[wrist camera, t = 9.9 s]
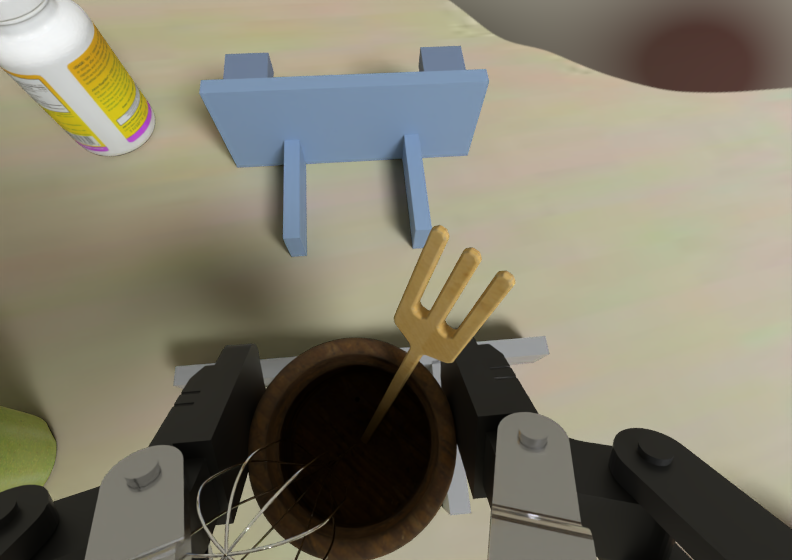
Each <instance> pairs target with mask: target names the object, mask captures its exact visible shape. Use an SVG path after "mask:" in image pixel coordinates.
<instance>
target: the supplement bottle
mask: <svg viewBox="0 0 792 560" xmlns="http://www.w3.org/2000/svg"><path fill="white" fill-rule="evenodd" d="M0 67H1V68H2V69H3V70H4V71H5V72H6V73H7V74H8V75H9V76H10V77H12V78H13V79H14V80H15V81H16V82H17V83H18V84H19V85H20V86H21V87H22V88H23V89H24V90H25V91H26V92H27V93H28V94H29V95H30V96H31V97H32V98H33V99H34V100H35V101H36V102H37V103H38V104H39V105H40V106H41V107H42V108H43V109H44V110H45V111H46V112H47V113H48V114H49V115H50V116H51V117H52V118H53V119H54V120H55V121H56V122H57V123H58V124H59V125H60V126H61V127H62V128H63V129H64V130H65V131H66V132H67V133H68V134H69V135H70V136H71V137H72V138H73V139H74V140H75V141H76V142H77V143H79V144H80V145H81V146H82V147H83V148H85V149H86V150H88V151H89V152H92V153H94V154H97V155H102V156H117V155H122V154H125V153H128V152H131V151H133V150H135V149H137V148H138V147H140V146H141V145H143V144H144V143H145V142H146V141H147V140H148V138H149V137H150V136H151V134H152V132H153V130H154V126H155V115H154V112H153V110H152V108H151V106H150V104H149V103H148V101H147V100H146V99H145V97H144V96H143V94H142V93H141V91H140V90H139V88H138V87H137V85H136V84H135V83H134V81H133V80H132V78H131V77H130V75H129V74H128V72H127V71H126V70H125V68H124V67H123V65H122V64H121V62H120V61H119V59H118V58H117V57H116V55H115V54H114V52H113V51H112V49H111V48H110V46H109V45H108V44H107V42H106V41H105V39H104V38H103V36H102V35H101V33H100V32H99V31H98V29H97V28H96V26H95V25H94V23H93V22H92V20H91V19H90V18H89V16H88V15H87V14H86V12H85V11H84V10H83V9H82V8H81V7H80V6H79V5H78V4H76V3H75V2H74V1H72V0H0Z"/></svg>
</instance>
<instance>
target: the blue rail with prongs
mask: <svg viewBox="0 0 792 560" xmlns="http://www.w3.org/2000/svg"><path fill="white" fill-rule="evenodd" d="M273 75H274V71H273V68H272V64H271V61H270V57H269V54H268V53H247V54H225V65H224V76H223V79H221V80H201V84H200V93H199V94H200V96H201V97H202V99H203V101H204V103H205V105H206V107H207V109H208V111H209V113H210V115H211V117H212V119H213V121H214V123H215V125H216V127H217V129H218V130H219V132H220V134H221V136H222V138H223V140H224V142H225V144H226V146H227V148H228V150H229V152H230V154H231V156H232V158H233V160H234V162H235V163H236V165H237V167H255V166H274V165H284V200H283V240H284V242H285V244H286V246H287V248H288V250H289V253H290V255H291V257H294V256H307V223H306V164H312V163H331V162H351V161H370V160H389V159H402V160H403V169H404V177H405V186H406V194H407V203H408V212H409V220H410V229H411V237H412V246H413V249H414V248H423V247H424V245H425V243H426V240H427V238H428V236H429V233H430V231H431V229H432V226H431V219H430V212H429V205H428V197H427V190H426V183H425V176H424V169H423V161H422V158H427V157H446V156H465V155H468V151H469V148H470V145H471V141H472V138H473V134H474V131H475V128H476V124H477V121H478V118H479V114H480V111H481V107H482V104H483V101H484V97H485V94H486V90H487V87H488V84H489V79H488V75H487V70H486V69H477V70H466V69H465V64H464V59H463V55H462V50H461V46H446V47H420V57H419V72H400V73H374V74H349V75H323V76H297V77H273Z"/></svg>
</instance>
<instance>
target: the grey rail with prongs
mask: <svg viewBox="0 0 792 560" xmlns="http://www.w3.org/2000/svg"><path fill="white" fill-rule="evenodd" d="M477 344H478V345H480V344H490V345H492V346H493V347H494V348H496V349H497V350H498V351H500V352H501V353H503V355H504V357H505V358H506V360H507V362H508V363H509V365H512V364H523V363H534V362H536V361H538V360H539V359H541V358H543V357H545V356H547V355H548V354H549V350H548V346H547V341H546V337H545V336H541V337H529V338H517V339H505V340H492V341H480V342H477ZM400 349H402V350H404V351H406V352H408V350H409V349H410V347H407V348H400ZM295 358H296V357H284V358H272V359H260V363H261V368H262V373H263V378H264V384H265V386H267V385H269V384H270V383H271V382H272V380H273V379H274V378H275V376H276V375H277V374H278V373H279V372H280V371H281V370H282V369H283V368H284V367H285V366H286V365H287V364H288V363H290V362H291V361H292V360H293V359H295ZM419 361H420V362H421V363H422V364H423V365H424V366H425V367H426V368H427V369H428V370H429V371H430V373H431V374H432V375H433V376H434V378H435V379H436V380H437V382H438V383H439V385H440V386H441V378H440V370H441V361H439V360H437V359H434V358H432V357H429V356H427V355H423V356H422V357H421V359H420V360H419ZM207 365H215V363H211V364H199V365H187V366H175V376H174V385H173V386H176V387H179V388H183V389H184V387H185V386H186V384H187V382H188V381H189V379H190V378H191V377H192V376H193V375H194V374H196V373H197V372H198V371H199V370H201V369H202V368H203V367H204V366H207ZM443 508H444V509H445V510H446V511H447V512H448V513H449V514H450V515H457V514H466V513H471V509H470V501H469V494H468V487H467V480H466V473H465V469H464V466H463V463H462V459H461V456H460V453H459V449H458V446H457V456H456V465H455V470H454V475H453V478H452V482H451V485H450V488H449V490H448V493H447V495H446V497H445V499H444V501H443Z"/></svg>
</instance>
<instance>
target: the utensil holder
mask: <svg viewBox="0 0 792 560" xmlns="http://www.w3.org/2000/svg"><path fill="white" fill-rule="evenodd" d="M448 239H449V233H448V230H447V229H446V228H444V227H443V226H441V225H438V226H434V227H433V228H432V229H431V231H430V233H429V236H428V238H427V240H426V243H425V245H424V247H423V250H422V252H421V254H420V257H419V259H418V262H417V264H416V266H415V269H414V271H413V273H412V276H411V278H410V280H409V283H408V285H407V287H406V290H405V292H404V294H403V297H402V299H401V301H400V304H399V306H398V308H397V311H396V313H395V316H394V321H395V324H396V325H397V327H398V328H399V329H400V331H401V332H402V334H403V335H404V336H405V338H406V339H407V340H408V342H409V343H410V349H409V350H408V352H406V351H404V350H402V349H400V348H398V347H396V346H394V345H391V344H389V343H386V342H383V341H379V340H375V339H368V338H344V339H338V340H333V341H329V342H326V343H323V344H320V345H318V346H315V347H313V348H311V349H309V350H307V351H305V352H304V353H302V354H300V355H299V356H297V357H296V358H295V359H293V360H292V361H291V362H290V363H288V364H287V365H286V366H285V367H284V368H283V369H282V370H281V371H280V372H279V373H278V374H277V375H276V376H275V378H274V379H273V380H272V382H271V383H270V384H269V386H268V387H267V389H266V390H265V392H264V394H263V395H262V397H261V399H260V401H259V403H258V405H257V408H256V410H255V413H254V416H253V419H252V422H251V426H250V431H249V440H248V458H247V459H246V461H245V462H241V463H238V464H235V465H233V466H231V467H229V468H227V469H225V470H223V471H221V472H219V473H217V474H215V475H213V476H211V477H210V478H208V479H207V480H205V481H204V482H203V483H202V485H201V486H200V488H199V491H198V494H197V501H196V504H197V512H198V516H199V519H200V522H201V524H202V525H201V526H200V527H198V528H197V529H195V530H194V531H192V532H191V536H192V535H193V534H194V533H196V532H197V531H199V530H200V529H202V528H204V530H205V532H206V533H207V535H208V536H209V538H210V539H211V541H212V542H213V543H214V545H215V546H216V547H217V548H218V549H219V550H220V551H221V553H217V554H194V553H189V552H187V556H188V557H194V558H216V557H222V558H221V559H220V560H234V559H233V558H232V557H231V556H235V555H242V554H246V555H245V556H243V557H242V558H241V559H240V560H244V559H245V558H246V557H247V556H248V555H249V554H250V553H253V552H257V551H262V550H266V549H270V548H273V547H277V546H280V545H283V544H286V543H290V544H292V545H293V546H295V547H296V548H298V549H299V550H298V553H297V555H296V557H295V560H297V558H298V556H299V554H300V551H303V552H305V553H307V554H309V555H312V556H315V557H317V558H321V559H323V560H371V559H375V558H378V557H381V556H384V555H387V554H389V553H391V552H393V551H395V550H397V549H399V548H401V547H402V546H404V545H405V544H407V543H408V542H410V541H411V540H412V539H413V538H415V537H416V536H417V535H418V534H419V533H420V532H421V531H422V530H423V529H424V528H425V527H426V526H427V525H428V524H429V523H430V521H431V520H432V519H433V517H434V516H435V515H436V513H437V512H438V510H439V509H440V507H441V505H442V503H443V501H444V499H445V497H446V495H447V493H448V490H449V488H450V485H451V482H452V478H453V475H454V470H455V465H456V456H457V437H456V428H455V423H454V418H453V414H452V411H451V408H450V405H449V402H448V400H447V398H446V396H445V394H444V392H443V390H442V388H441V386H440V385H439V383H438V382H437V380H436V379H435V378H434V376H433V375H432V374H431V373H430V371H429V370H428V369H427V368H426V367H425V366H424V365H423V364H422V363H421V362H420V361H419V360H420V359H421V357H422V356H423V355H427V356H429V357H432V358H434V359H437V360H439V361H442V362H445V363H452V362H453V361H454V360H455V359H456V358H457V356H458V355H459V354H460V353H461V351H462V350H463V349H464V348H465V346H466V345H467V344H468V343H469V341H470V340H471V339H472V337H473V336H474V335H475V334H476V332H477V331H478V330H479V329H480V327H481V326H482V325H483V324H484V322H485V321H486V320H487V319H488V317H489V316H490V315H491V314H492V312H493V311H494V310H495V309H496V307H497V306H498V305H499V303H500V302H501V301H502V300H503V298H504V297H505V296H506V295H507V293H508V292H509V291H510V290H511V288H512V287H513V286H514V284H515V279H514V276H513V275H512V274H511V273H509V272H508V271H499V272H498V273H497V274H496V275H495V277H494V278H493V280H492V281H491V282H490V284H489V285H488V287H487V288H486V290H485V291H484V292H483V294H482V295H481V297H480V298H479V299H478V301H477V302H476V304H475V305H474V307H473V308H472V309H471V311H470V312H469V314H468V315H467V316H466V318H465V319H464V321H463V322H462V324H461V325H460V326H459V328H458V329H453V328H451V327H450V326H449V325H447V323H446V321H445V319H446V317H447V315H448V314H449V312H450V311H451V309H452V307H453V306H454V304H455V302H456V301H457V299H458V298H459V296H460V294H461V293H462V291H463V289H464V288H465V286H466V285H467V283H468V281H469V280H470V278H471V276H472V275H473V273H474V272H475V270H476V268H477V267H478V265H479V263H480V262H481V260H482V258H481V255H480V252H479V251H477V250H476V249H475V248H466V249H465V250H464V251H463V253H462V254H461V256H460V258H459V260H458V262H457V263H456V265H455V267H454V269H453V271H452V272H451V274H450V276H449V278H448V280H447V281H446V283H445V285H444V287H443V289H442V290H441V292H440V294H439V296H438V298H437V299H436V301H435V303H434V305H433V307H432V308H431V310H427V309H426V308H424V307H423V306H422V304H421V302H420V299H421V297H422V295H423V293H424V291H425V289H426V286H427V284H428V282H429V280H430V278H431V276H432V274H433V271H434V269H435V267H436V265H437V263H438V261H439V258H440V256H441V254H442V252H443V250H444V248H445V246H446V243H447V241H448ZM247 463H248V472H249V478H250V482H251V487H252V490H253V493H254V497H251V498H249V499H247V500H244V501H242V502H240V503H238V504H236V505H234V506H232V502H233V498H234V494H235V490H236V487H237V484H238V481H239V479H240V476H241V474H242V472H243V470H244V468H245V466H246V465H247ZM240 465H243V466H242V467H241V469H240V471H239V473H238V476H237V478H236V480H235V483H234V486H233V489H232V493H231V496H230V501H229V505H228V509H227V510H225V511H223V512H221V513H220V514H218V515H216V516H215V517H213V518H212V519H210V520H209V521H207V522H206V523H205V521H204V519H203V516H202V513H201V509H200V495H201V491H202V489H203V487H204V485H205V484H206V483H207V482H209V481H210V480H212V479H213V478H215V477H217V476H219V475H221V474H222V473H224V472H226V471H228V470H230V469H232V468H235V467H237V466H240ZM254 498H256V500H257V503H258V505H259V507H260V509H261V510H260V511H259V513H258V514H257V515H256V516H255V517H254V518H253V520H252V521H251V522H250V523H249V524H248V526H247V527H246V528H245V529H244V530H243V532H242V533H241V534H240V535H239V537H238V538H237V539H236V540H235V541H234V543H233V544H232V545H231V547H230V548H229V549H228V533H229V521H230V513H231V509H233V508H235V507H237V506H239V505H241V504H243V503H245V502H248V501H250V500H252V499H254ZM226 512H227V518H226V526H225V548H224V549H223V547H222V546H221V545H220V544H219V543H218V542H217V540H216V539H215V538H214V536H213V535H212V534H211V532H210V530H209V529H208V527H207V524H209V523H210V522H212V521H213V520H215V519H216V518H218V517H220V516H221V515H223V514H224V513H226ZM262 513H263V514H264V516H265V517H266V519H267V520H268V522H269V523H270V524H271V525H272V528H271V529H270V530H269V531H268V532H267V533H266V534H265V535H264V536H263V537H262V538H261V539H260V540H259V541H258V542H257V543H256V544H255V545H254V546H253V548H252V549H248V550H242V551H236V552H231V551H232V549H233V548H234V547H235V546H236V544H237V543H238V542H239V541H240V539H241V538H242V537H243V536H244V534H245V533H246V532H247V531H248V529H249V528H250V527H251V526H252V525H253V523H254V522H255V521H256V520H257V519H258V518H259V516H260V515H261V514H262ZM273 529H275V530H276V531H277V532H278V533H279V534H280V535H281V536H282V537H283V538H284V539H285V540H284V541H281V542H277V543H274V544H270V545H267V546H263V547H258V548H256V547H257V546H258V545H259V544H260V543H261V541H262V540H263V539H264V538H265V537H266V536H267V535H268V534H269V533H270V532H271V531H272V530H273ZM225 553H226V554H227V556H226V555H225Z"/></svg>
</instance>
